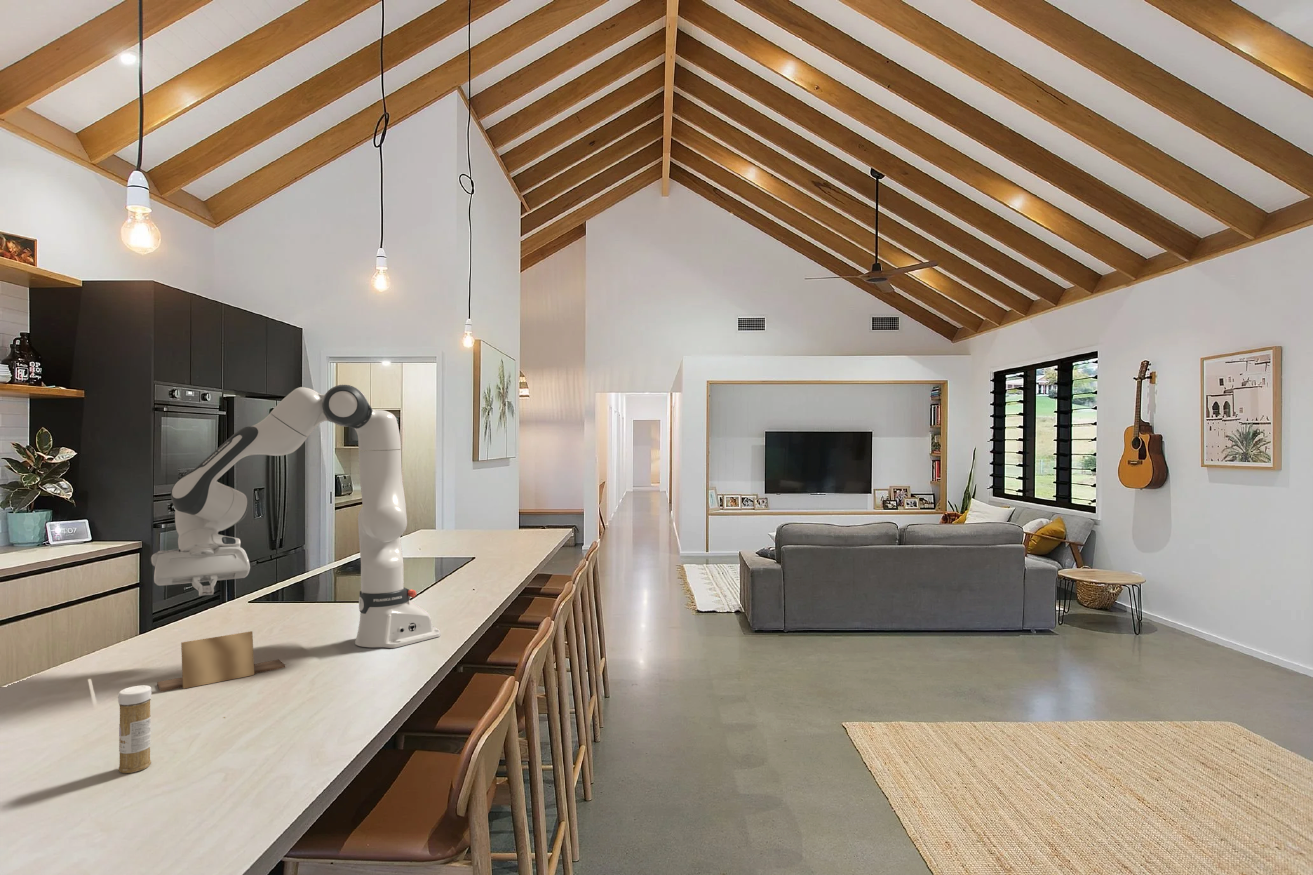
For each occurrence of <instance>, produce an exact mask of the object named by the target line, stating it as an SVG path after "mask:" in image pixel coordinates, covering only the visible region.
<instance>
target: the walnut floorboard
mask: <svg viewBox="0 0 1313 875" xmlns="http://www.w3.org/2000/svg"><path fill="white" fill-rule="evenodd" d="M285 668H286V664H285V663H284V662H283V661H281V660H280V659H274V660H267V661H263V662H256V663H254V675H255V674H260V673H265V672H270V671H274V670H280V669H285ZM156 684H157V685H156V686H157V687H158V689H159V692H160V693H162V692H166V691H172V690H177V689H183V684H182V676H181V677H177V678H172V679H171V678H170V679H166V680H161V681H157V682H156Z"/></svg>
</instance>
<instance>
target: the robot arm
mask: <svg viewBox="0 0 1313 875" xmlns="http://www.w3.org/2000/svg"><path fill="white" fill-rule="evenodd" d="M324 422H330V423H333V424H334V425H337V426H338V427H339V426H340V427H345V428H346V427H348V428H352V429H354V430H355V432H356V434H357V441H358V472H359V473H358V476H359V477H358V478H359V484H360V494H361V501H362V502H361V503H362V506H361V508H360V509H359V512H358V514H357V515H358V516H357V527H358V542H359V554H360V555H359V557H360V591H359V595H358V596H359V597H358V608H359V609H358V610H359V622H358V630H357V633H356V637H355V640H354V644H355V646H358V647H362V648H386V649H387V648H388V649H389V648H390V649H394V648H399V647H403V646H407V645H411V644H414V643H415V644H416V643H419V642H423V641H426V640H427V641H428V640H430V639H435V638H438V637H440V636H441V630H440V629H439V628H437V627H436V626H433V622H432V618H431V614H430V613H429V612H428V611H427V610H426V609H424V608H423V607H422V606H419V605H418V604H417V603H415V602H414V601H412V600H411V598H416V596H417V591H416V590H415V589H409V588H406V587H404V584H405V583H404V580H405V579H404V575H405V574H404V556H403V550H402V549H403V548H402V539H401V536H402V535H403V534H404V533H405V532H406V529H407V527H408V516H407V504H406V497H405V488H404V483H403V482H404V481H403V470H402V467H403V466H402V442H401V434H400V429H399V424H398V423H399V422H398V420H397V417H396V416H395V414H393V413H392V412H389V411H387V410H384V409H374V408H372V406H371V405H370V402H368V399H367V397H366V395H365V394H364V392H362V391H361V389H359V388H357V387H355V386H353V385H351V384H350V385H349V384H338V385H336V386H333V387H331V388H330V389H328V390H327V392H326V393H325V394H324V393H323V394H322V393H319V392H318V391H316V390H314V389H312V388H309V387H304V386H300V387H299V386H298V387H297V388H294V389H293V390H291V392H289V393H288V394H287V395H286V396H285V397H284V398H283V399H282V400H281V401H279V402H278V403H277V404H276V406H274V408H273V409H272V410H271V411H270V412H269V414H268V415H267V416H266V417H264V418H263V419H262V420H260V421H259V422H257V423H256V424H253V425H251V426H245V427H242V428H240V429H239V430H237V431H236V432H235V433H234V434H232V435H231V436H230V437H229V438H228V439H227V440H225V441H224V442H223V443H222V444H221V445H219V447H217V449H215V450H214V451H213V452H212V453H210V455H209V456H207V457H206V458H205V459H204V460H203V461H201V463H199V464H198V465H197V466H196V467H195V468H194V469H192V470H190V471H189V472H187V473H186V474H184V475H182V476H181V477H180V478H178V480H176V482H175V483H174V484H173V486H172V487H171V490H170V498H171V502H172V506H173V507H174V508H175V511H174V524H175V530H176V533H177V534H178V537H177V544H178V549H169V550H158V551H157V552H155V553H153V554H152V555H151V557H150V562H151V565H152V566H153V567H154V574H153V582H154V584H155V585H156V586H159V587H160V586H172V585H181V584H182V585H183V584H191V586H192V587H193V588H194V589H196V590H197V591H198V596H199V597H201V596H212V595H214V593H215V589H214V588H215V586H216V584H217V581H226V580H236V579H245V578H246V577H248V575H249V574H250V571H251V565H250V560H249V557H248V554H247V552H246V550H245V549H244V548H243V547H242V546H241V539H240V538H238V537H233V536H228V535H223V534H220V533H219V532H222V531H225V530H228V529H229V528H231V527H233V526H235V525H236V524H239V523H240V522H241V521H243V520H244V519H245V517H246V516H247V513H248V510H249V499H248V497H247V495H246V493H244V492H242V491H240V490H237V489H235V488H233V487H231V486H228V485H225V484H223V483H221V482H218V480H219V479H220V478H221V477H222V476H223V475H224V474H225V473H227V472H228V471H229V470H230V469H231V468H232V467H233V466H234V465H235V464H236V463H238V462H239V461H241V459H243V458H245V457H248V456H256V455H257V456H259V455H262V456H274V457H275V456H276V457H280V456H286V455H290V454H293V453H294V452H295V451H297V450H298V449H299V448H300V447H302V445H304V443H305V442H306V440H307V439H308V437H310V435H311V434H312V432H314V430H315V429H316V428H317V427H318V426H319V425H320V424H322V423H324ZM204 582H205V583H206V582H209V585H203V584H202V583H204Z"/></svg>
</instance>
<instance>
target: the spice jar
mask: <svg viewBox="0 0 1313 875" xmlns="http://www.w3.org/2000/svg"><path fill="white" fill-rule="evenodd" d="M117 696H118V697H117V699H118V700H117V701H118V705H119V724H118V725H119V727H118V728H119V730H118V731H119V733H118V734H119V736H118V739H119V740H118V741H119V743H118V749H119V750H118V752H119V764H118V765H119V766H118V772H120V773H121V774H131V773H136V772H140V771H143V770H146V769H147V768H149V767H150V765H152V760H151V745H152V744H151V743H152V742H151V741H152V740H151V737H152V736H151V735H152V734H151V732H152V722H151V721H152V720H151V719H152V718H151V701H152V700H151V699H152V687H151V686H150V685H146V684H145V685H144V684H143V685H133V686H130V687H125V688H124V689H123V688H122V689H121V690H120V691H119V692H118V694H117Z"/></svg>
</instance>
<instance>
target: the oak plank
mask: <svg viewBox="0 0 1313 875" xmlns="http://www.w3.org/2000/svg"><path fill="white" fill-rule="evenodd" d="M253 633H254V632H253V631H245V632H238V633H234V634H226V635H221V636H214V637H207V638H200V639H195V640H187V641H182V642H181V643H180V644H181V646H180V647H181V677H182V684H183V688H182V689H184V690H185V689H189V688H193V687H194V688H195V687H199V686H203V685H209V684H210V685H211V684H215V683H219V682H225V681H230V680H234V679H240V678H245V677H250V676H251V677H252V676H254V675H255V674H254V664H255V663H254V662H255V660H254V659H255V658H254V657H255V656H254V639H253Z"/></svg>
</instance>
